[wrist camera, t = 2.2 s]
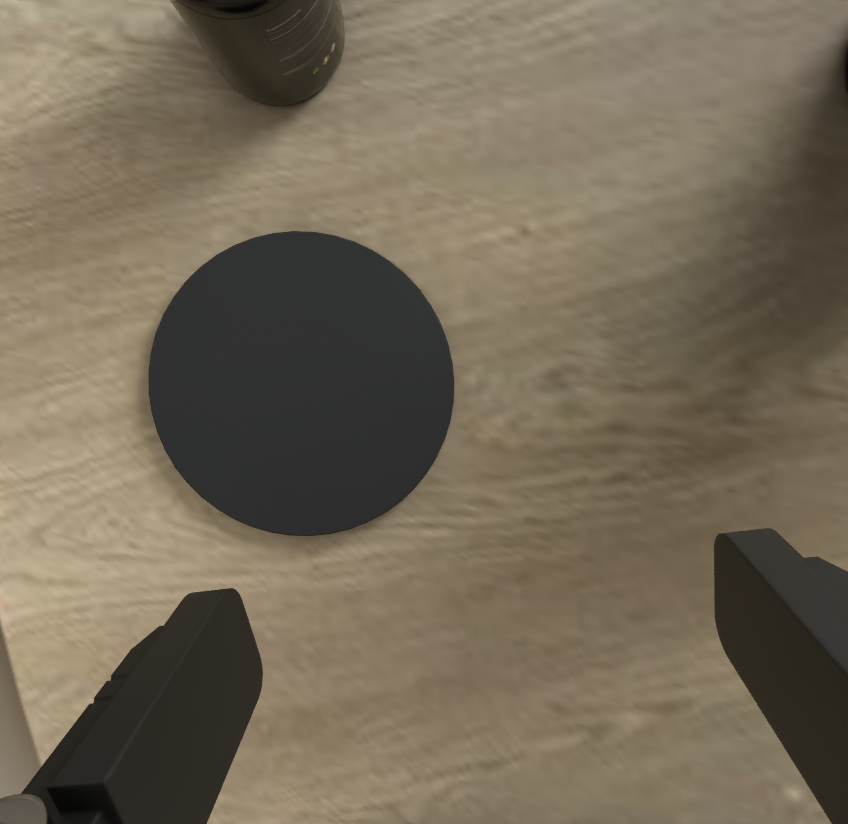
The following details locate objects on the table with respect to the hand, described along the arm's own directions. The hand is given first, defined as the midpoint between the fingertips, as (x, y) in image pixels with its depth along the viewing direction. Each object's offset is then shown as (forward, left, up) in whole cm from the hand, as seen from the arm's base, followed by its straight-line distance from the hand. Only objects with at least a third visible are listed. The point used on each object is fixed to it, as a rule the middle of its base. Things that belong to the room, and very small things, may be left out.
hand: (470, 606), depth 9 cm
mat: (+1, -7, -21) cm, 22 cm away
